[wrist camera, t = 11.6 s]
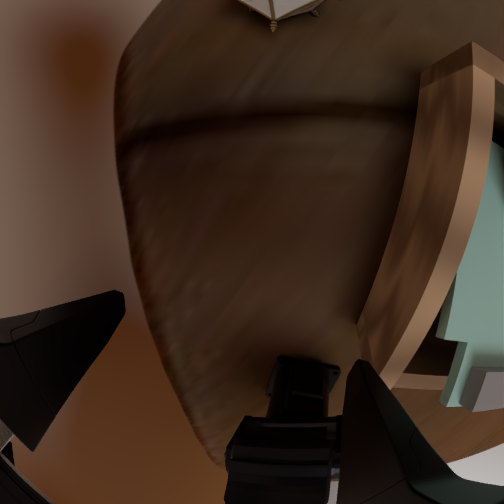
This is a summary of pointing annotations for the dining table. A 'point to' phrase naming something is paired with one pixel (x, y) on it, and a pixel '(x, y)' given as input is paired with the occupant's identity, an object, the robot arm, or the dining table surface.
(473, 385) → the trapdoor
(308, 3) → the game die
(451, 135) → the box frame
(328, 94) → the dining table surface
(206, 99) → the dining table surface
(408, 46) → the dining table surface
